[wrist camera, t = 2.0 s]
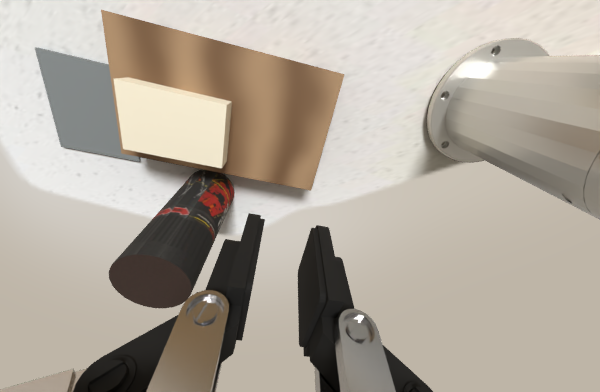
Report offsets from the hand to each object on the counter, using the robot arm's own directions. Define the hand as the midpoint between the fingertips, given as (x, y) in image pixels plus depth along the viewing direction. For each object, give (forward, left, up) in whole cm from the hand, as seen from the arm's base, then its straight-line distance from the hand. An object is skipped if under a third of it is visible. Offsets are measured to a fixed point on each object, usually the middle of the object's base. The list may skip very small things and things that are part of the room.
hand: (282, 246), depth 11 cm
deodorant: (+9, +9, -19) cm, 23 cm away
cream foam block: (+11, 0, -15) cm, 18 cm away
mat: (+21, +2, -19) cm, 29 cm away
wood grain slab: (+7, -1, -19) cm, 20 cm away
